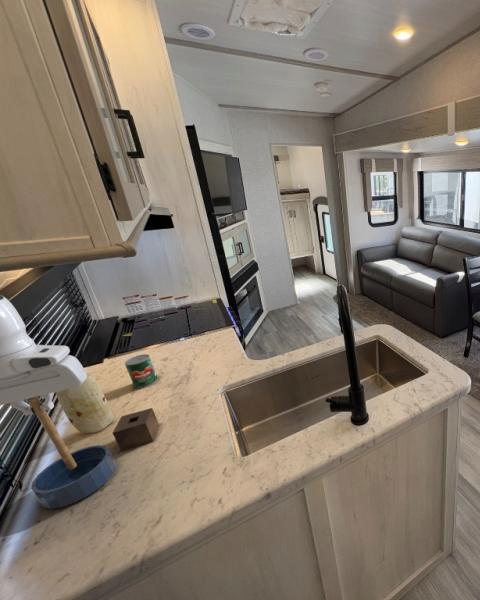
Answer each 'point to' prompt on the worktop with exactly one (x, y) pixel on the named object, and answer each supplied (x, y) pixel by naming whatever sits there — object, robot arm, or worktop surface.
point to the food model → (86, 406)
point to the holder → (136, 429)
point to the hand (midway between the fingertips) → (40, 411)
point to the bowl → (74, 477)
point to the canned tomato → (141, 371)
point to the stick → (52, 433)
